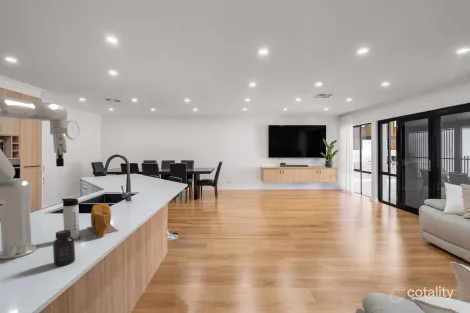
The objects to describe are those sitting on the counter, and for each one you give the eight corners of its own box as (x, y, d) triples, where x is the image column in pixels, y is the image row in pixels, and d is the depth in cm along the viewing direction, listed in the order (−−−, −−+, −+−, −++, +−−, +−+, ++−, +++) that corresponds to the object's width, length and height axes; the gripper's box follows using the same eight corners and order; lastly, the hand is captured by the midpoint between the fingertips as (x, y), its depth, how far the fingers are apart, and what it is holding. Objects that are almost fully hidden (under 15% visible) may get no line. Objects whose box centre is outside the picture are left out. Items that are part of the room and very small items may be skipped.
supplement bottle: (79, 258, 101) (77, 228, 101) (68, 266, 94) (67, 234, 94) (61, 259, 101) (60, 229, 101) (49, 267, 94) (47, 234, 94)
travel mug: (65, 238, 126) (63, 197, 125) (80, 236, 128) (79, 196, 127) (61, 242, 120) (60, 200, 119) (78, 240, 122) (76, 198, 122)
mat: (118, 231, 135) (118, 230, 135) (94, 235, 128) (94, 235, 128) (108, 223, 150) (108, 223, 150) (87, 227, 143) (87, 227, 143)
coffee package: (88, 224, 142) (89, 241, 123) (91, 202, 141) (93, 215, 122) (108, 224, 147) (112, 240, 128) (111, 203, 146) (116, 215, 128)
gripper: (69, 130, 132) (70, 166, 132) (65, 133, 143) (66, 165, 144) (51, 130, 127) (52, 167, 127) (49, 132, 139) (50, 166, 139)
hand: (60, 166), depth 136 cm, fingers closed
